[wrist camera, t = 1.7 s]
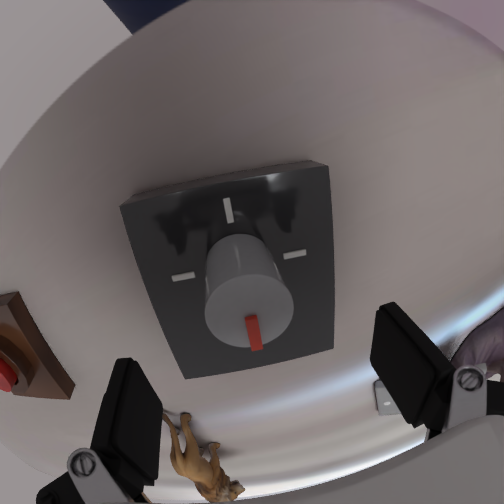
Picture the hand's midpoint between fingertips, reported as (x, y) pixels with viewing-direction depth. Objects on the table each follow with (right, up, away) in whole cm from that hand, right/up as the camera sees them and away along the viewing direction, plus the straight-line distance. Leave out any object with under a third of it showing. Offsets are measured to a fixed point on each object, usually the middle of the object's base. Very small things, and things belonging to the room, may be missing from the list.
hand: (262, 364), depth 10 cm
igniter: (-25, -6, +11) cm, 28 cm away
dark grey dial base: (-1, +3, +11) cm, 11 cm away
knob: (-1, +3, +7) cm, 8 cm away
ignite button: (-25, -7, +7) cm, 27 cm away
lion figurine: (-7, -19, +19) cm, 28 cm away
